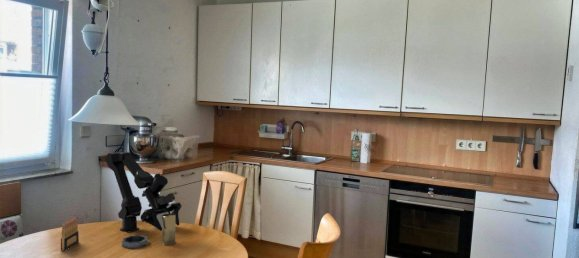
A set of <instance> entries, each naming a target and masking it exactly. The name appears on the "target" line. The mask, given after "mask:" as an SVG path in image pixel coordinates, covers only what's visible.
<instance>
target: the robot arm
mask: <svg viewBox="0 0 579 258" xmlns="http://www.w3.org/2000/svg"><path fill="white" fill-rule="evenodd" d="M104 161H105V163H106V165H107V167H108V168H109V169H110V170H111V171H113V173H114V176H115V179H116V183H117V186H118V188H119V191H120V195H121V198H122V201H121V204H120V207H121V209H120V210H119V211H118V213H117V215H118V219H122V220H121V221H122V224H121V225H122V227H120V228H119V231H122V232H127V233H131V232H134V231H137V230H139V229H140V227H138V220H137V217H140V221H141V222H142V223H144V222H145V223H146V224H149V225H151V226H153V228H154V227H156V228H157V230H159V231H160V232H161V231H162V227H161V225H160V223H159V221H158V219H157V215H158V214H162V213H166V212H168V213H169V214H175V226H178V227H179V226H180V219H179V212H180V210H181V209H182V207H183V205H182V203H181V202H175V203H173V204H171V206H170V207H168V208H167V206H168V205H169V203H170V202H173V201H174V200H175V199H176V197H175V196H176V195H174V193H173V192H170V193H168V194H167V195H161V194H160V193H162V191H163V190H164V189H165V188H166V186H167V185H168V184H169V183H168V182H169V181H168V178H167V177H166V176H163V175H161V174H160V173H155V174H154V176H153V175H152V174H151V173H150V172H149V171H146V170H144V169H143V168H142V167H141V166H140V165H139V163H138V162H137V161H136V159H134V157H133V155H132V153H131V152H129V151H126V152H120V151H119V152H117V151H116V152H109V153H107V154H106V156H105V160H104ZM125 167H126V169H127V170H128V171H129V172H130V174H131V175H132V176H133V178H134V180H133V181H134V182H133V183H135V185H136V187H137V188H138V189H145V190H143V191H142V193H141V197H145V198H146V200H147V202H148V203H149V204H148V205H147V206H148V207H149V208H148V209H147V208H146V209H145V210H144V211H143V212H142V209H143V208H142V202H141V200H140V197H139V196H135V195H134V194H133V190H132V187H131V184H130V181H129V179H128V175H127V172H126V170H125ZM141 212H142V214H141ZM156 228H155V229H156Z"/></svg>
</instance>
